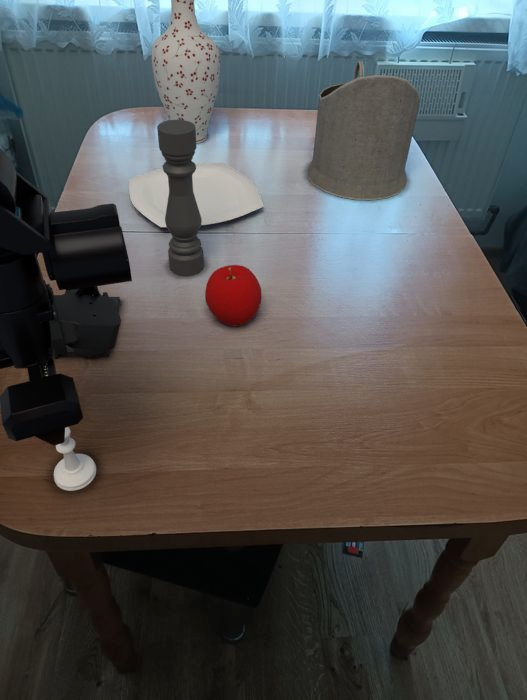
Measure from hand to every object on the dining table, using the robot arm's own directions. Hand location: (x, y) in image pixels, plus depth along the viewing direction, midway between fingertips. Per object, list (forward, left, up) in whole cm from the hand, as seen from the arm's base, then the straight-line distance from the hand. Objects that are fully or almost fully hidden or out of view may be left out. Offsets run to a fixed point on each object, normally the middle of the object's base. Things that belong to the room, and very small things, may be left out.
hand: (52, 410), depth 57 cm
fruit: (+29, +21, -12) cm, 37 cm away
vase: (+44, +92, -12) cm, 102 cm away
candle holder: (+26, +37, -12) cm, 46 cm away
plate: (+35, +60, -12) cm, 70 cm away
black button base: (+5, +26, -12) cm, 29 cm away
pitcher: (+75, +62, -12) cm, 99 cm away
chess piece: (0, 0, -12) cm, 12 cm away
